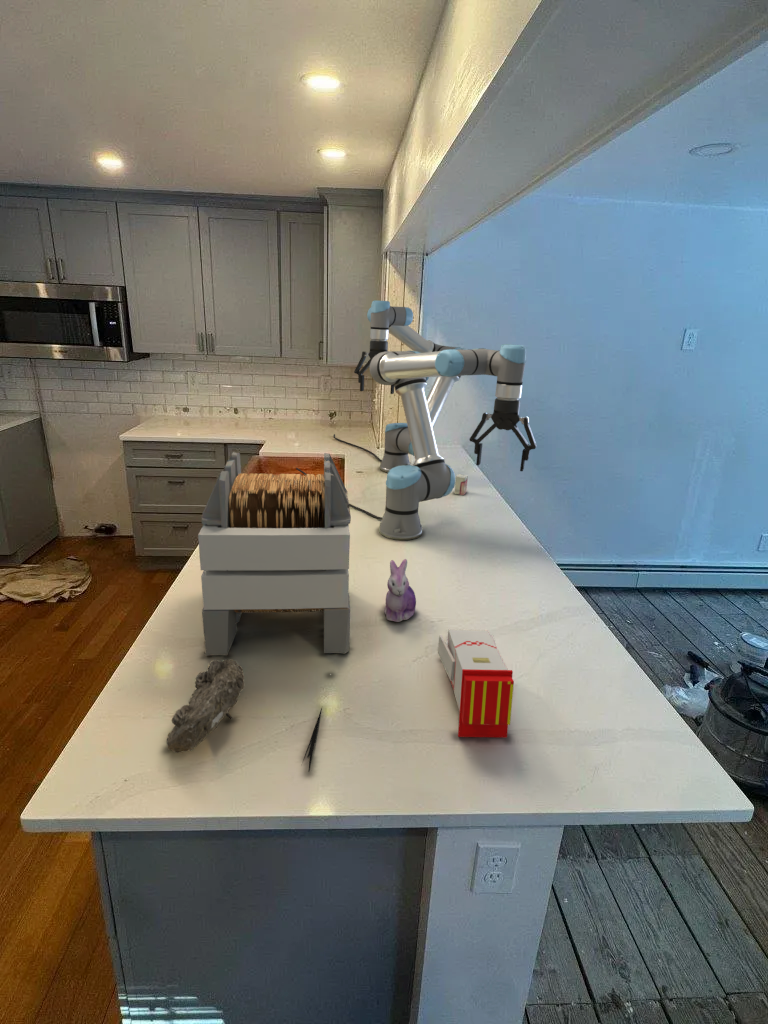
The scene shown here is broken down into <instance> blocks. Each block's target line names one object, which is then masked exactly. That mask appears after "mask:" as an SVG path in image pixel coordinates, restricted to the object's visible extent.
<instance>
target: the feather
mask: <svg viewBox="0 0 768 1024" xmlns="http://www.w3.org/2000/svg"><path fill="white" fill-rule="evenodd" d="M329 675H330V676H331V675H332V674H331V673H330V674H329ZM322 710H323V707H321V708H320V710H319V713H318V716H317V719H316V723H315V725H314V728H313V731H312V733H311V737H310V739H309V742H308V745H307V748H306V751H305V754H304V757H303V760H302V763H301V767H302V765H303V763H304V761H305V758H308V759H309V760H308V762H307V763H308V764H307V766H308V771H310V770H311V766H312V765H311V764H312V760H313V757H315V756H314V755H315V751H316V749H315V746H317V739H318V733H319V729H320V722H321V717H322V712H323V711H322ZM313 754H314V755H313ZM306 755H307V757H306Z"/></svg>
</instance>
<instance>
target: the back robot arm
mask: <svg viewBox="0 0 768 1024" xmlns="http://www.w3.org/2000/svg"><path fill="white" fill-rule="evenodd" d="M366 316H367V320H368V321H369V323H370V331H369V339H370V341H369V352H368V351H366V350H364V351H362V352H361V356H360V359H359V361H358V363H357V365H356V367H355V368H354V371H353V373H354V374H356V375H357V376H358V377H357V383H359V391H360V392H364V391H365V374H364V373H365V372H366V371H367V370H368V369H369V368H370V363H371V360H372V359H373V357H374V356H376V355H377V354H379V353H381V352H385V351H389V341H388V340H389V334H390V335H391V336H393V337H394V338H395V339H396V340H398V341H400V343H402V344H404V345H405V346H406V347H407V348H409V349H410V351H416V352H420V353H426V352H436V351H442V350H447V349H455V350H467V349H466V348H464V347H461V346H449V345H441V344H438V343H435V342H433V340H429V339H426V338H425V337H424V336H422V335H421V334H419V333H418V332H417V331H416V330H414V329H413V328H412V327H411V326H410V325H411V324H412V323H413V320H414V312H413V310H412V308H410V307H406V306H391V302H390V301H389V300H375V299H374V300H373V301H371V306H370V307H369V308H368V310H367V314H366ZM368 357H369V359H368V360H367V362H366V363H365V364H364V362H365V360H366V358H368ZM363 364H364V365H363ZM461 378H462V376H451V377H447V376H442V377H435V379H434V382H433V384H432V386H431V387H430V390H429V392H428V395H427V396H426V401H427V406H428V410H429V414H430V419H431V423H432V428H433V429H434V427H435V425H436V423H437V420H438V418H439V416H440V414H441V412H442V410H443V408H444V406H445V404H446V401H447V400H448V397H449V396H450V393H451V391H452V389H453V387H454V385H455V383H456V382H459V381H460V379H461ZM389 394H390V395H393V394H395V387H394V385H390V393H389ZM433 432H434V433H435V431H434V430H433ZM333 438H334V440H336V441H339V442H340V443H344V444H346V445H349V446H352V447H355V448H357V449H361V450H363V451H365V452H367V453H369V454H370V455H372V456H374V457H375V458H376V459H377V461H379V462H380V464H379V470H380V471H381V472H383V473H386V474H388V472H389V470H391V469H392V468H394V467H397V466H402V465H405V466H406V465H411V461H410V458H409V455H411V456H413V457H415V456H414V451H413V447H412V443H411V438H410V434H409V429H408V425H407V422H392V423H387V424H386V425H385V430H384V451H383V452H384V454H383V455H382V456H383V457H382V459H381V458H380V457H379V456H377V455H376V454H375V453H374V452H373V451H370V450H368V449H367V448H364V447H362V446H359V445H356V444H353V443H350V442H348V441H344V440H342V439H340V438H338V437H336V434H335V433H334V434H333Z"/></svg>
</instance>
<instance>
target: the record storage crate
mask: <svg viewBox="0 0 768 1024" xmlns="http://www.w3.org/2000/svg"><path fill="white" fill-rule="evenodd" d="M241 463H242V462H241V453H240V452H235V451H233V452H231V455H230V457H229V459H227V460H226V463H225V466H224V468H223V470H222V471H220V474H219V475H218V477H217V479H216V482H215V483H214V486H213V489H212V491H211V494H210V495H209V498H208V499H207V502H206V505H205V507H204V509H203V511H202V514H201V517H200V520H201V524H202V527H201V529H200V530H199V532H198V535H197V538H198V550H199V552H198V553H199V563H200V565H199V567H200V571H202V573H201V575H200V580H201V581H200V582H201V594H202V605H203V607H202V609H201V610H202V611H201V617H202V629H203V638H204V639H203V640H204V649H205V650H204V651H205V652H204V655H205V656H206V657H212V656H228V654H229V652H230V650H231V647H232V645H233V643H234V640H235V638H236V635H237V632H238V623H240V620H241V617H242V614H244V613H250V614H251V613H253V614H254V613H257V614H258V613H298V612H301V613H302V612H308V613H309V612H322V614H323V654H344V655H346V654H347V653H349V652H350V639H351V604H350V595H349V594H350V593H349V586H350V585H349V584H350V572H349V571H350V570H349V569H350V549H351V548H350V547H351V545H350V542H351V533H350V532H351V531H350V526H349V525H350V524H351V520H352V516H351V515H352V514H351V509H350V506H349V504H350V502H349V496H348V490H347V488H346V486H345V484H344V482H343V480H342V478H341V474H340V473H339V471H338V469H337V466H336V465H335V462H334V460H333V458H332V455H331V454H330V453H326V452H324V453H323V473H322V474H321V473H318V474H316V475H315V474H314V473H306V474H307V475H304V474H303V475H302V474H301V473H280V474H273V473H244V472H243V473H242V466H241Z"/></svg>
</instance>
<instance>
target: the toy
mask: <svg viewBox="0 0 768 1024" xmlns="http://www.w3.org/2000/svg"><path fill="white" fill-rule="evenodd" d="M446 640H447V643H446V641H445V639H444V636H443V635H442V634H439V637H438V646H437V656H438V657H439V659H440V661H441V663H442V666H443V668H444V670H445V672H446V674H447V677H448V679H449V681H450V684H451V687H452V690H453V693H454V697H455V701H456V705H457V708H458V711H459V714H458V715H459V716H458V730H457V731H458V732H457V737H458V738H508V731H509V726H510V725H511V717H512V707H513V697H514V696H513V695H514V684H515V680H514V679H513V673H514V671H513V670H512V669H508V667H507V665H506V662H505V661H504V659H503V658H502V655H501V653H500V651H499V649H498V647H497V643H496V639H495V637H494V635H493V634H491V632H490V631H489V629H467V628H466V629H465V628H463V629H461V628H460V629H459V628H448V630H447V639H446Z"/></svg>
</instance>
